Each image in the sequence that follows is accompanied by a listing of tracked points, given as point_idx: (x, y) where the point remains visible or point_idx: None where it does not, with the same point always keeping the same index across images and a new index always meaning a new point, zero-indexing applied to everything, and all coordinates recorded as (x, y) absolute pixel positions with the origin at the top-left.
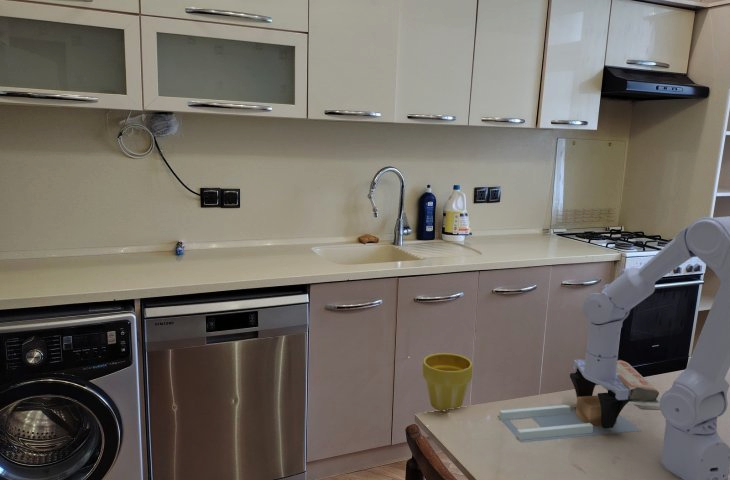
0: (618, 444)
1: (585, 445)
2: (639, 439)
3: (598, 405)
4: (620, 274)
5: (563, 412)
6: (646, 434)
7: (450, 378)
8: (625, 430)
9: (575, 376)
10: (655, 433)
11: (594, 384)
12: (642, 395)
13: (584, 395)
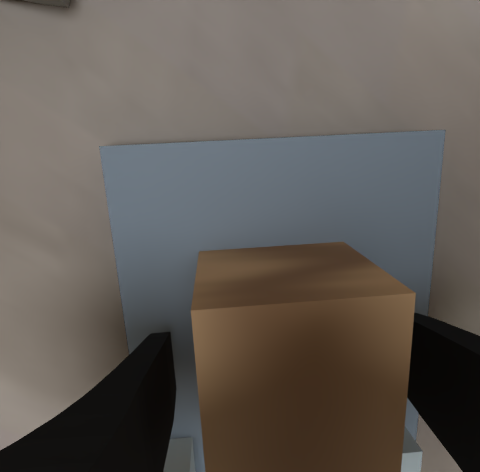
0: (465, 308)
1: (430, 448)
2: (457, 168)
3: (381, 457)
4: None
5: None
6: (424, 85)
7: None
8: (422, 232)
9: None
10: (428, 12)
11: (108, 455)
12: None
13: (152, 446)
